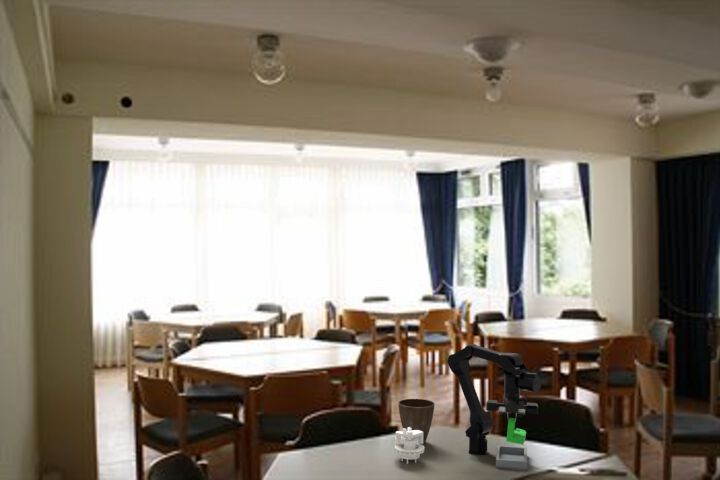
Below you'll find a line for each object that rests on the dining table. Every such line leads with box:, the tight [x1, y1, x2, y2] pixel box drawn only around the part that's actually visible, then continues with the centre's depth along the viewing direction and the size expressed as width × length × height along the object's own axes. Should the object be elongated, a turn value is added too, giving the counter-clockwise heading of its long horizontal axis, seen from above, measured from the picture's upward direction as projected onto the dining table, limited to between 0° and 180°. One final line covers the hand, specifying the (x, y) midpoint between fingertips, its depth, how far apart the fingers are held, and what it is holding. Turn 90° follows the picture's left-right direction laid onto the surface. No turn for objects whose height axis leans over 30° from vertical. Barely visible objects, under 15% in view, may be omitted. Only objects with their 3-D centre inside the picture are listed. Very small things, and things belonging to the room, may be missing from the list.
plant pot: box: [397, 398, 436, 445], centre depth 259 cm, size 15×15×16 cm
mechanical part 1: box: [394, 427, 425, 465], centre depth 237 cm, size 11×12×12 cm
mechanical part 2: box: [506, 417, 527, 445], centre depth 236 cm, size 12×6×8 cm, turn 160°
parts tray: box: [495, 445, 528, 472], centre depth 237 cm, size 11×17×3 cm, turn 166°
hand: (511, 429), depth 237 cm, fingers closed on mechanical part 2, 2 cm apart
